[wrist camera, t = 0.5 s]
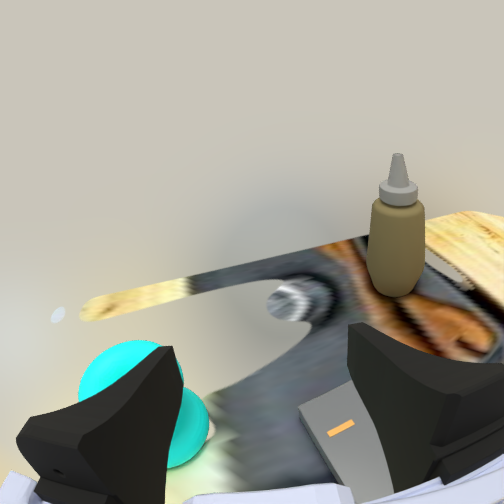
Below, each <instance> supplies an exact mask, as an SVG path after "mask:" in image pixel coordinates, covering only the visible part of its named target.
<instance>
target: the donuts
mask: <svg viewBox="0 0 504 504" xmlns="http://www.w3.org/2000/svg"><path fill="white" fill-rule="evenodd" d="M159 346H161V345H159V344H157V343H154V342H151V341H144V340H143V341H142V340H134V341H128V342H124V343H120V344H117V345H115V346H113V347H111V348H109V349H108V350H106V351H104V352H103V353H101V354H100V355H99V356H98V357H97V358H96V359H95V360H93V362H92V363H91V364H90V365H89V367H88V368H87V369H86V371H85V373H84V375H83V377H82V379H81V382H80V386H79V392H78V399H79V402H81V401H83V400H85V399H87V398H89V397H91V396H93V395H95V394H97V393H98V392H100V391H102V390H103V389H105V388H107V387H108V386H110V385H111V384H113V383H114V382H115V381H117V380H118V379H119V378H121V377H122V376H123V375H125V374H126V373H127V372H128V371H130V370H131V369H132V368H133V367H135V366H136V365H137V364H138V363H139V362H140V361H142V360H143V359H144V358H145V357H146V356H147V355H149V354H150V353H151V352H152V351H153V350H155V349H156V348H157V347H159ZM176 360H177V359H176ZM177 364H178V367H179V371H180V374H181V377H182V380H183V384H184V379H183V373H182V369H181V366H180V365H179V363H178V361H177ZM208 430H209V417H208V412H207V409H206V407H205V405H204V404H203V402H202V400H201V399H200V398H199V397H198V396H197V395H196V394H195V393H194V392H192V391H191V390H189V389H187V388H185V387H183V395H182V403H181V407H180V411H179V415H178V419H177V422H176V426H175V430H174V433H173V437H172V441H171V445H170V450H169V456H168V464H167V468H172V467H175V466H178V465H181V464H183V463H185V462H186V461H188V460H190V459H191V458H192V457H193V456H194V455H196V453H197V452H198V451H199V450H200V449H201V447H202V446H203V444H204V442H205V440H206V438H207V435H208Z"/></svg>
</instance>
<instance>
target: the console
mask: <svg viewBox="0 0 504 504" xmlns="http://www.w3.org/2000/svg"><path fill="white" fill-rule="evenodd" d="M298 410H299V416H300V419H301V421H302V423H303V424H304V426H305V428H306V430H307V431H308V433H309V435H310V437H311V438H312V440H313V442H314V444H315V445H316V447H317V449H318V450H319V452H320V454H321V455H322V457H323V459H324V461H325V462H326V464H327V466H328V467H329V469H330V471H331V472H332V474H333V476H334V477H335V479H336V481H337V482H338V484H339V485H342V486H346V487H350V489H351V491H352V494H353V497H354V500H355V503H356V504H362V503H365V502H369V501H373V500H376V499H379V498H383V497H386V496H389V495H392V494H394V490H393V485H392V481H391V477H390V473H389V469H388V465H387V462H386V458H385V455H384V452H383V448H382V445H381V442H380V439H379V436H378V434H377V431H376V428H375V426H374V423H373V421H372V419H371V417H370V415H369V413H368V411H367V409H366V407H365V405H364V404H363V402H362V400H361V398H360V396H359V394H358V392H357V390H356V388H355V386H354V384H353V381H352V380H350V381H349V382H347V383H345V384H343V385H341V386H339V387H337V388H335V389H333V390H331V391H329V392H327V393H325V394H323V395H321V396H319V397H317V398H315V399H313V400H311V401H309V402H306V403H304V404H302V405H300V406H298Z"/></svg>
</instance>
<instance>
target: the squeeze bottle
mask: <svg viewBox="0 0 504 504" xmlns="http://www.w3.org/2000/svg"><path fill="white" fill-rule="evenodd" d="M379 196H380V197H379V198H378V199H376V200H375V201H374V203H373V204H372V213H371V223H370V233H369V242H368V250H367V258H366V262H367V268H368V271H369V274H370V276H371V279H372V282H373V285H374V287H375V288H376V290H377V291H378V292H380V293H382V294H383V295H386V296H390V297H401V296H404V295H406V294H408V293H409V292H410V291H411V290H413V288H414V286H415V284H416V283H417V281H418V279H419V277H420V276H421V274H422V272H423V269H424V265H425V212H424V206H423V205H422V203H421V202H420V201H419V200H417V196H418V187H417V185H416V184H415V183H414V182H412V181H409V179H408V175H407V170H406V166H405V162H404V157H403V154H399V153H395V154H393V157H392V162H391V168H390V173H389V178H388V180H385V181H383V182H381V183H380V185H379Z"/></svg>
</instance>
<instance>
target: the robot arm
mask: <svg viewBox="0 0 504 504" xmlns="http://www.w3.org/2000/svg"><path fill="white" fill-rule="evenodd" d="M347 366H348V369H349V372H350V375H351V378H352V381H353V384H354V386H355V388H356V390H357V392H358V394H359V396H360V398H361V400H362V402H363V404H364V405H365V407H366V409H367V411H368V413H369V415H370V417H371V419H372V421H373V423H374V426H375V428H376V431H377V434H378V436H379V439H380V442H381V445H382V448H383V452H384V455H385V458H386V462H387V465H388V469H389V473H390V477H391V481H392V485H393V490H394V494H392V495H389V496H386V497H383V498H379V499H376V500H373V501H369V502H365V503H362V504H504V365H503V364H502V363H471V362H462V361H456V360H451V359H446V358H442V357H438V356H434V355H431V354H428V353H425V352H422V351H419V350H417V349H414V348H412V347H410V346H407V345H405V344H403V343H401V342H399V341H397V340H395V339H393V338H391V337H389V336H387V335H385V334H384V333H382V332H380V331H378V330H376V329H374V328H373V327H371V326H369V325H367V324H365V323H363V322H361V323H356V324H350V325H348V356H347ZM183 385H184V384H183V380H182V377H181V374H180V371H179V367H178V364H177V360H176V357H175V353H174V350H173V346H159V347H157V348H156V349H155V350H153V351H152V352H151V353H150V354H149V355H147V356H146V357H145V358H144V359H143V360H142V361H140V362H139V363H138V364H137V365H136V366H135V367H133V368H132V369H131V370H130V371H128V372H127V373H126V374H125V375H123V376H122V377H121V378H119V379H118V380H117V381H115V382H114V383H113V384H111V385H110V386H108V387H107V388H105V389H103V390H102V391H100V392H98V393H97V394H95V395H93V396H91V397H89V398H87V399H85V400H83V401H81V402H78V403H77V404H74V405H71V406H69V407H66V408H63V409H60V410H57V411H54V412H50V413H46V414H42V415H37V416H33V417H30V418H29V419H28V421H27V422H26V424H25V425H24V427H23V428H22V430H21V431H20V433H19V434H18V436H17V437H16V443H17V446H18V448H19V450H20V452H21V453H22V455H23V456H24V458H25V459H26V460H27V461H28V463H29V464H30V465H31V466H32V467H33V469H34V470H35V471H36V472H37V473H38V474H39V476H40V479H39V481H38V483H37V482H36V481H34V480H33V479H31V478H29V477H27V476H24V475H22V474H19V473H16V472H14V471H10V473H9V474H8V476H7V478H6V479H5V481H4V483H3V484H2V486H1V488H0V504H165V485H166V473H167V464H168V456H169V450H170V445H171V441H172V437H173V433H174V430H175V426H176V422H177V419H178V415H179V411H180V407H181V403H182V395H183ZM183 504H356V503H355V500H354V497H353V494H352V491H351V489H350V487H346V486H342V485H338V484H335V483H325V484H311V485H305V486H299V487H291V488H284V489H275V490H264V491H252V492H232V493H210V494H202V495H196V496H194V497H192V498H190V499H188V500H187V501H185V502H183Z"/></svg>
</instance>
